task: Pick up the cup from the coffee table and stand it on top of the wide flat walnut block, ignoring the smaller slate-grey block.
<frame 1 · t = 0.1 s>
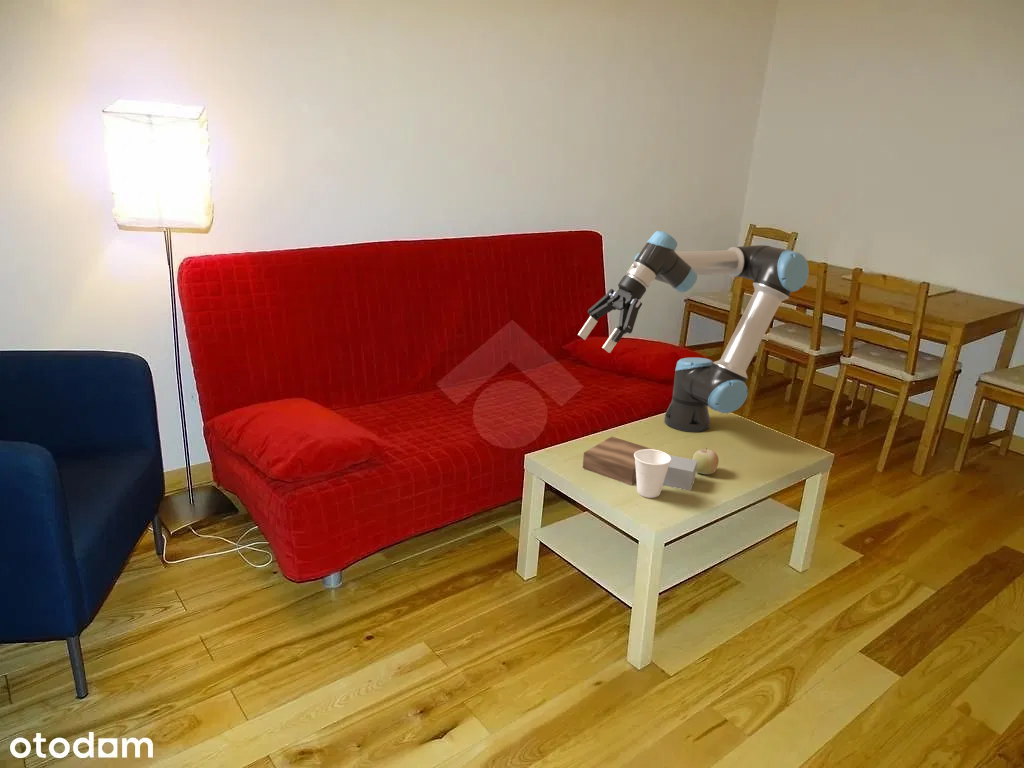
hand: (593, 343, 202), 36 cm above the table, tool tilted 35°, fingers open, 13 cm apart
cup: (648, 493, 195), on the table
grey block: (678, 482, 202), on the table
walnut block: (620, 467, 209), on the table
fruit: (703, 472, 209), on the table
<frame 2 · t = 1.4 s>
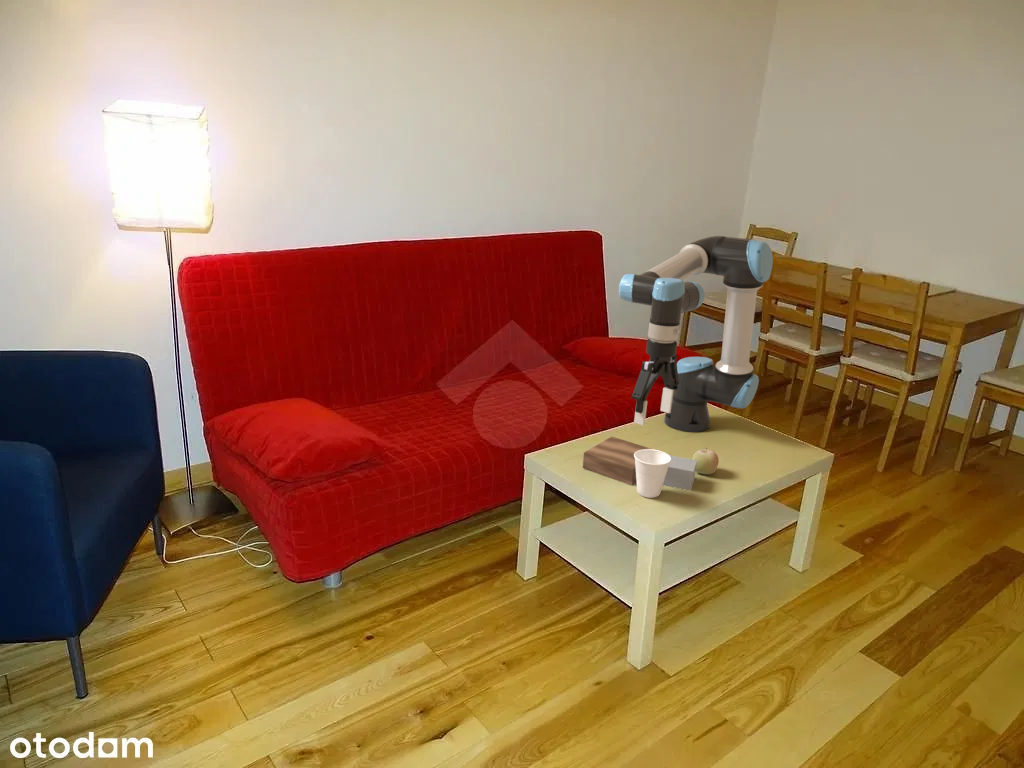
hand: (652, 417, 188), 22 cm above the table, tool pointing down, fingers open, 13 cm apart
nothing on the table moved.
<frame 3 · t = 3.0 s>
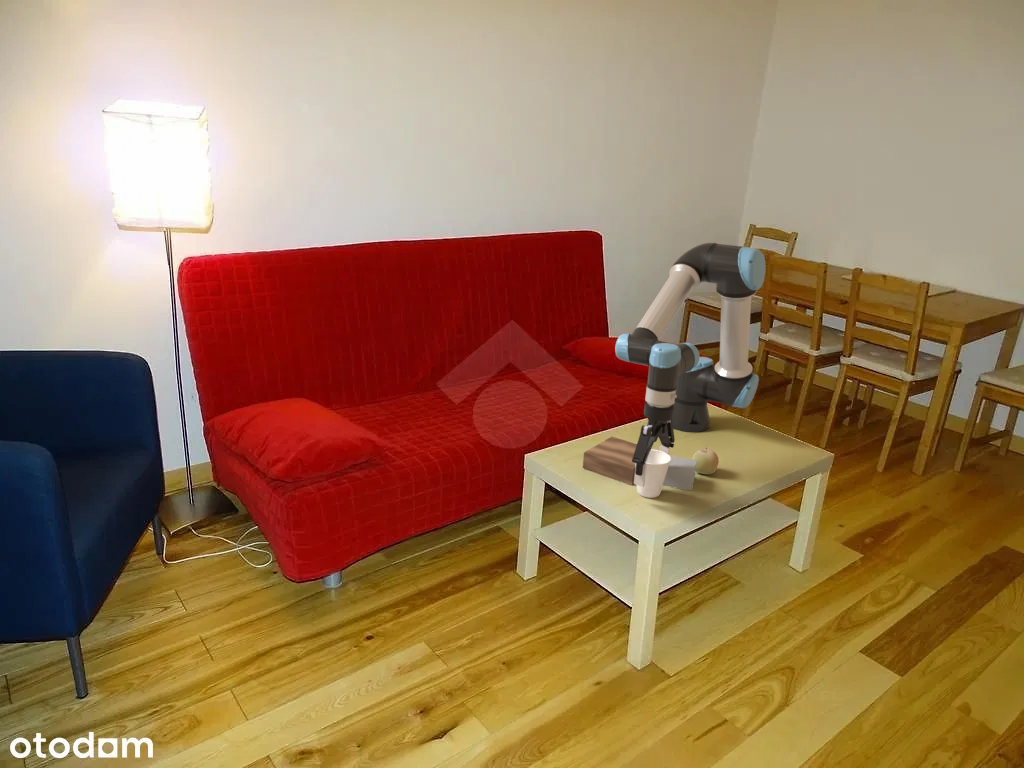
hand: (650, 476, 193), 5 cm above the table, tool pointing down, fingers open, 13 cm apart
nothing on the table moved.
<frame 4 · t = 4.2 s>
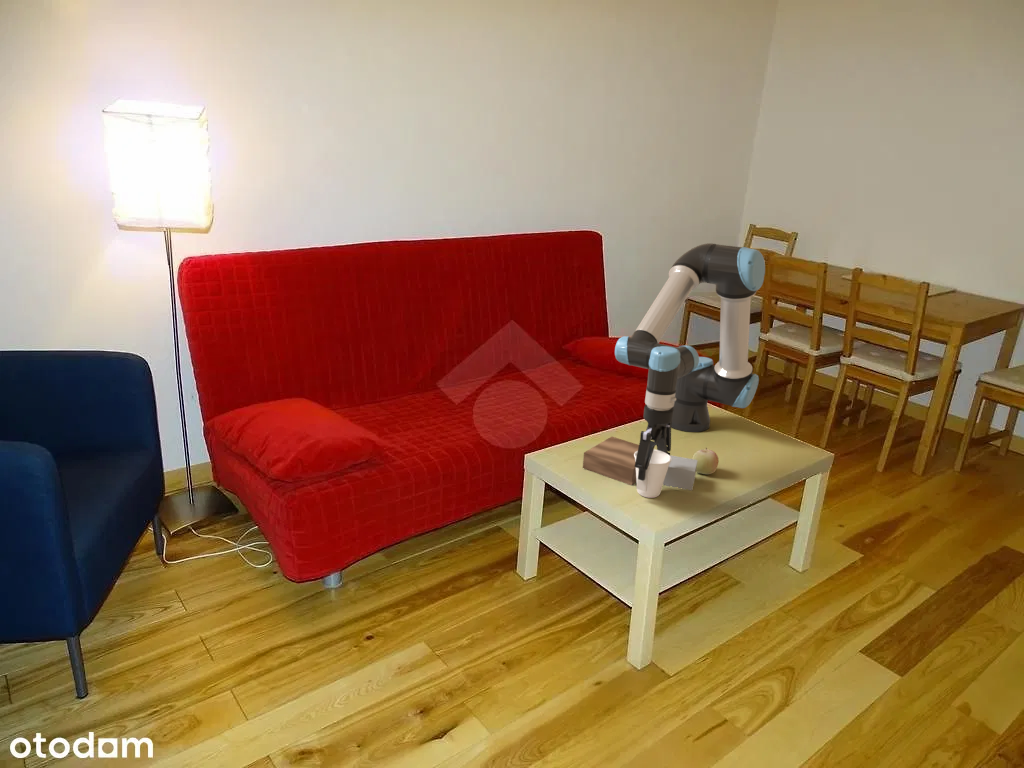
hand: (650, 483, 193), 3 cm above the table, tool pointing down, fingers closed on cup, 9 cm apart
cup: (648, 493, 195), on the table, touching gripper
everything else where it was.
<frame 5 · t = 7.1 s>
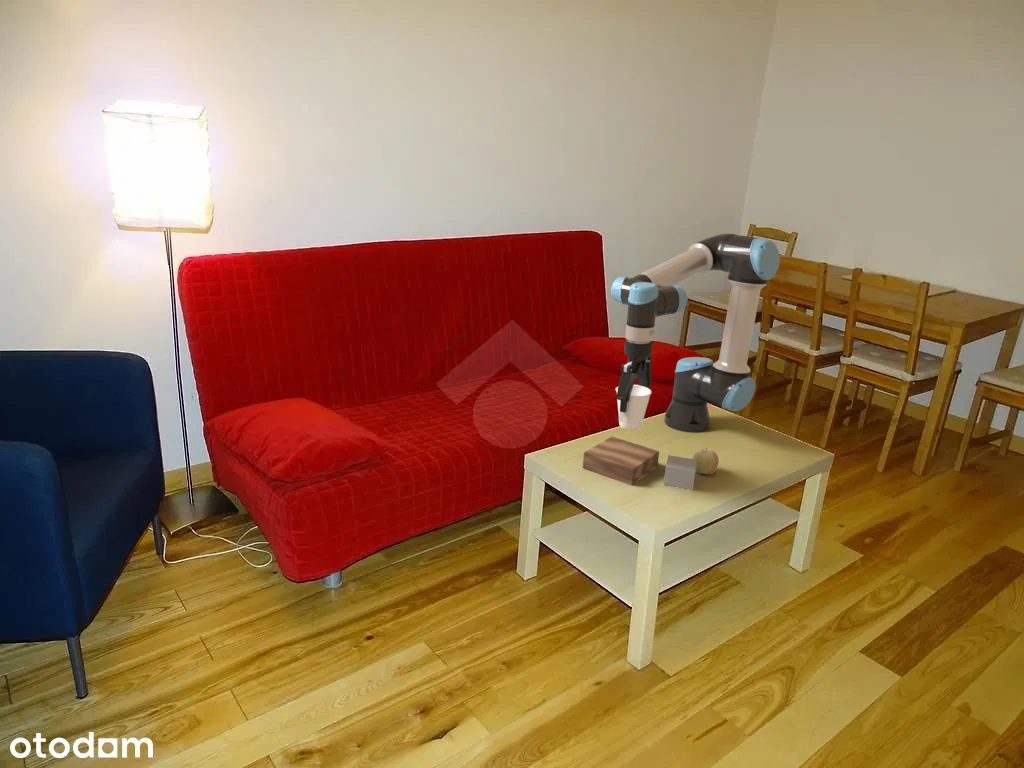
hand: (631, 416, 201), 17 cm above the table, tool pointing down, fingers closed on cup, 9 cm apart
cup: (630, 427, 203), point 14 cm above the table, touching gripper
everything else where it was.
when the fingers open (8 cm above the table, at t = 10.3 s): cup stays where it is, resting on walnut block.
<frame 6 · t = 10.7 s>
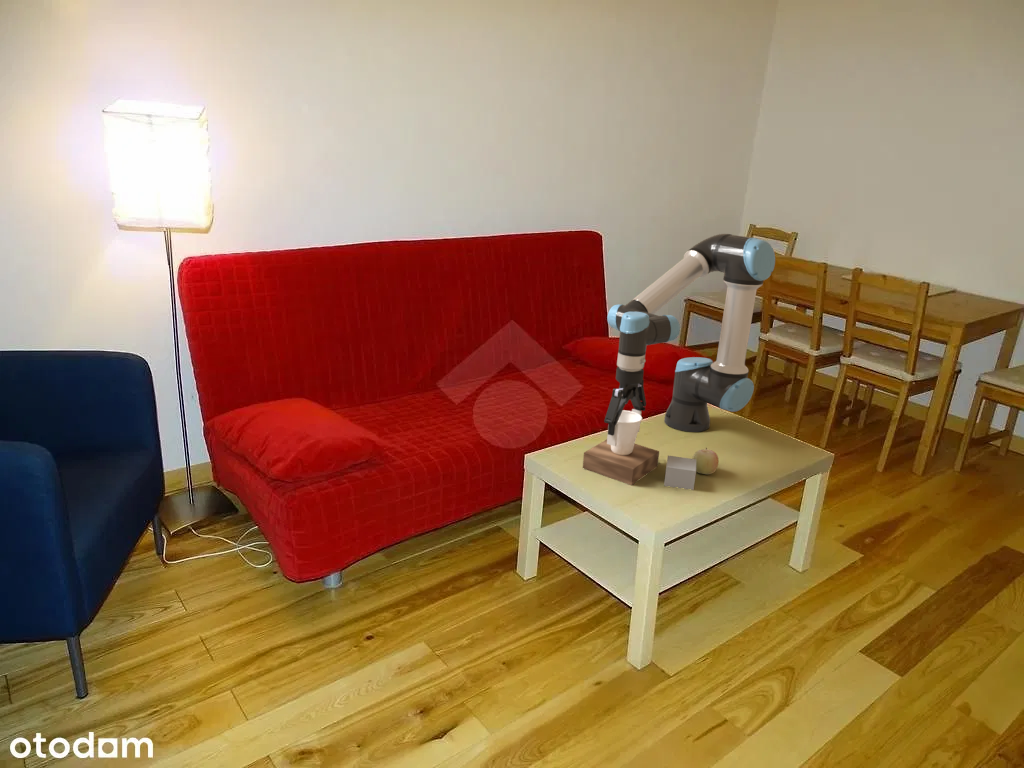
hand: (623, 437, 206), 9 cm above the table, tool pointing down, fingers open, 13 cm apart
cup: (621, 452, 208), point 5 cm above the table, touching walnut block
everything else where it was.
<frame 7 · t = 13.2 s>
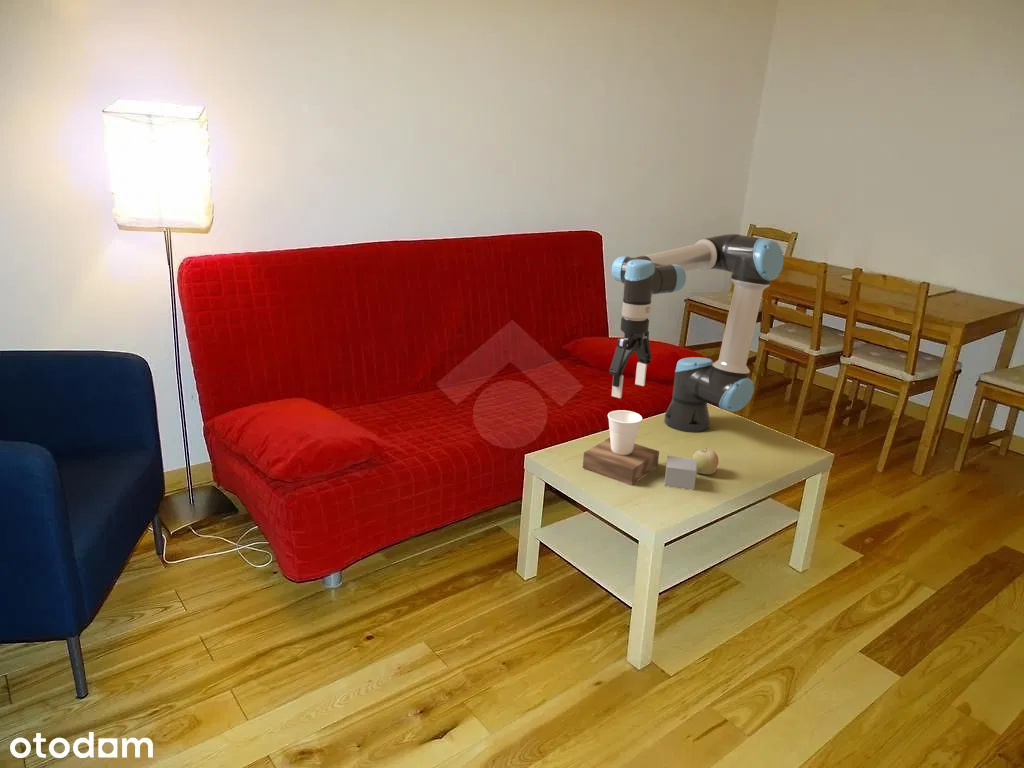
hand: (628, 390, 202), 24 cm above the table, tool pointing down, fingers open, 13 cm apart
nothing on the table moved.
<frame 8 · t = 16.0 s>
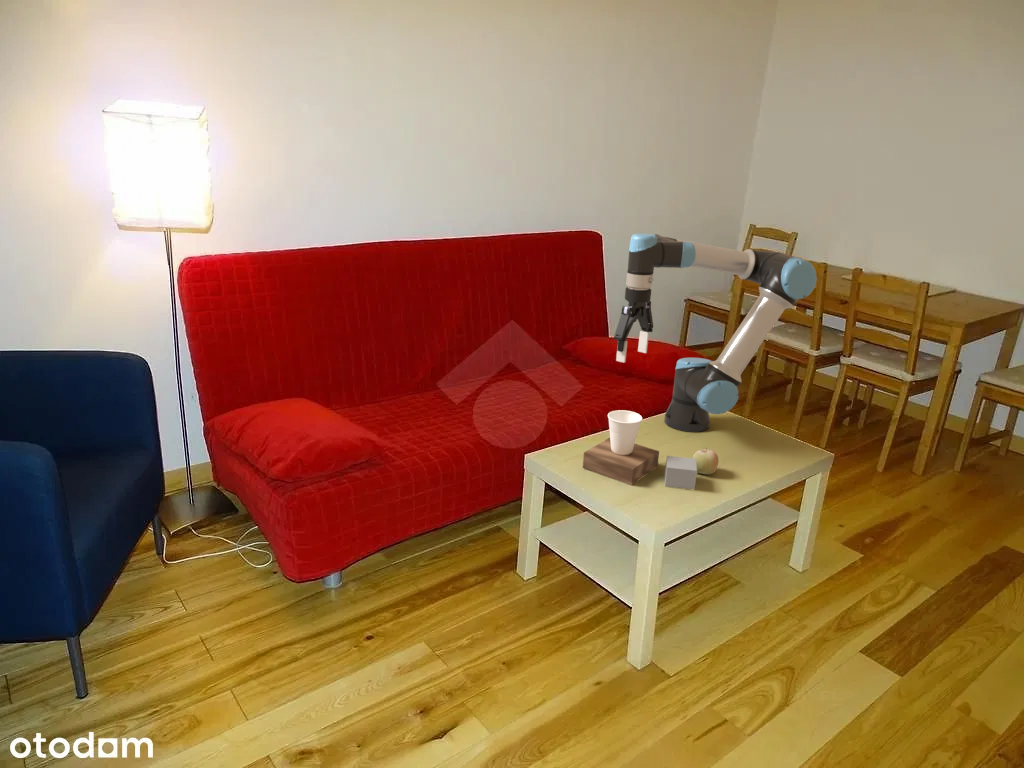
hand: (631, 356, 217), 29 cm above the table, tool pointing down, fingers open, 13 cm apart
nothing on the table moved.
at the end: cup inside the target area on the walnut block (0.3 cm from its centre), point 4.8 cm above the walnut block's base; cup tilted 0°; the gripper is holding nothing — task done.
